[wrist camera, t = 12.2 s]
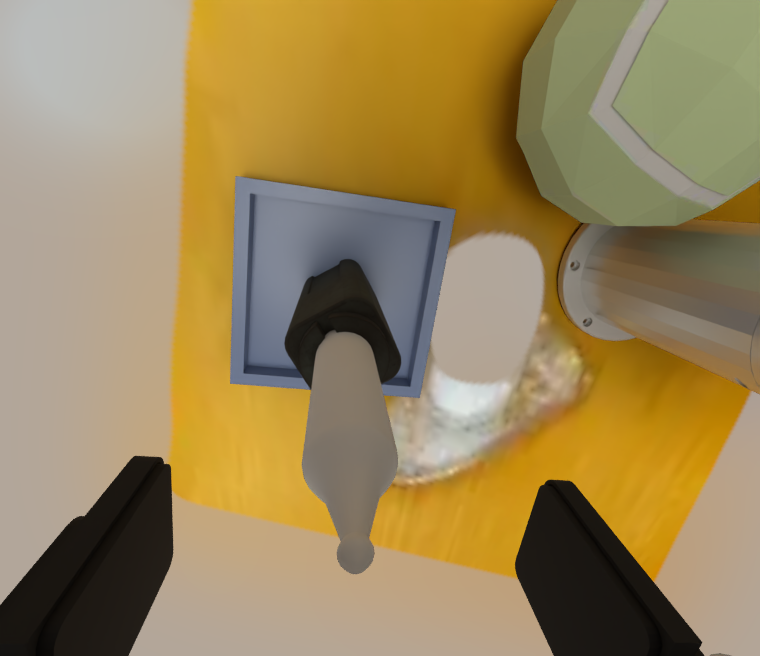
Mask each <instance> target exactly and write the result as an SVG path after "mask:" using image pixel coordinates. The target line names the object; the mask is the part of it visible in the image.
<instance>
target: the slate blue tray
mask: <svg viewBox="0 0 760 656" xmlns="http://www.w3.org/2000/svg"><path fill="white" fill-rule="evenodd" d="M455 212H456V209H450V208H443V207H436V206H430V205H423V204H417V203H410V202H403V201H397V200H390V199H384V198H377V197H370V196H364V195H357V194H351V193H344V192H337V191H331V190H324V189H317V188H311V187H304V186H298V185H291V184H284V183H278V182H271V181H265V180H258V179H251V178H245V177H238V176H236V183H235V221H234V259H233V297H232V335H231V373H230V384H243V385H256V386H269V387H283V388H296V389H309V390H310V388H309V387H308V385H307V383H306V382H305V380H304V379H303V377H302V376H301V374H300V373H299V371H298V370H297V368H296V367H295V365H294V364H293V362H292V360H291V359H290V357H289V356H288V354H287V352H286V350H285V345H284V342H285V336H286V334H287V331H288V328H289V325H290V323H291V320H292V317H293V314H294V312H295V309H296V306H297V303H298V300H299V298H300V295H301V292H302V289H303V287H304V284H305V282H306V280H307V279H308V278H309V277H311V276H314V277H316V276H318V275H320V274H321V273H323V272H325V271H327V270H329V269H331V268H333V267H335V266H337V265H338V264H339V263H340V261H341V260H344V259H352V260H354V261H356V262H357V263H358V264H359V265H360V266H361V268H362V270H363V272H364V274H365V276H366V278H367V279H368V281H369V283H370V285H371V287H372V289H373V291H374V293H375V295H376V297H377V299H378V302H379V304H380V307H381V309H382V311H383V314H384V316H385V319H386V321H387V323H388V326H389V328H390V331H391V333H392V336H393V338H394V340H395V343H396V345H397V348H398V350H399V353H400V355H401V367H400V370H399V372H398V373H397V375H396V376H395V377H394V378H392V379H391V380H389V381H387V382H385V383H383V384H381V387H382V391H383V395H388V396H402V397H415V398H420V393H421V388H422V383H423V378H424V372H425V367H426V362H427V357H428V352H429V346H430V341H431V336H432V331H433V326H434V320H435V315H436V310H437V305H438V300H439V295H440V289H441V284H442V279H443V274H444V269H445V263H446V258H447V253H448V248H449V243H450V238H451V232H452V227H453V222H454V217H455Z"/></svg>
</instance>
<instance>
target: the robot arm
mask: <svg viewBox="0 0 760 656" xmlns="http://www.w3.org/2000/svg"><path fill="white" fill-rule="evenodd" d="M570 265H571V266H570ZM558 293H559V298H560V302H561V305H562V307H563V309H564V312H565V314H566V315H567V317H568V318H569V319H570V320H571V322H572V323H573V324H574V325H575V326H577V327H578V328H579V329H580V330H582V331H583V332H585V333H587V334H589V335H591V336H593V337H596V338H599V339H602V340H609V341H622V340H629V339H633V338H636V337H637V338H639V339H641V340H644V341H646V342H648V343H650V344H652V345H654V346H657V347H659V348H661V349H663V350H665V351H667V352H669V353H672V354H674V355H676V356H678V357H680V358H682V359H685V360H687V361H689V362H691V363H693V364H695V365H698V366H700V367H702V368H704V369H706V370H708V371H710V372H713V373H715V374H717V375H719V376H721V377H723V378H726V379H728V380H730V381H732V382H734V383H736V384H739V385H741V386H743V387H745V388H747V389H749V390H751V391H754V392H756V393H758V394H760V223H745V222H728V221H712V220H695V219H691V220H688V221H686V222H684V223H681V224H679V225H677V226H611V225H601V224H591V223H584V224H583V225H582V226H581V227H580V228H579V229H578V231H577V232H576V233H575V235H574V236H573V237H572V239H571V241H570V243H569V244H568V246H567V248H566V250H565V252H564V255H563V258H562V261H561V264H560V269H559V275H558ZM172 525H173V523H172V488H171V466H170V465H169V464H164V461H163V459H162V458H161V457H145V456H134V457H133V458H132V459H131V460H130V461H129V462H128V463H127V465H126V466H125V467H124V468H123V470H122V471H121V472H120V473H119V475H118V476H117V477H116V478H115V479H114V481H113V482H112V483H111V484H110V486H109V487H108V488H107V489H106V491H105V492H104V493H103V494H102V496H101V497H100V498H99V499H98V501H97V502H96V503H95V504H94V505H93V507H92V508H91V509H90V510H89V512H88V513H87V514H86V515H85V516H79V517H77V518H75V519H73V520H72V521H71V522H70V524H68V525H67V526H66V527H65V529H64V530H63V531H62V532H61V533H60V535H59V536H58V537H57V538H56V539H55V540H54V542H53V543H52V544H51V545H50V546H49V548H48V549H47V550H46V551H45V552H44V554H43V555H42V556H41V557H40V558H39V560H38V561H37V562H36V563H35V564H34V565H33V567H32V568H31V569H30V570H29V571H28V573H27V574H26V575H25V576H24V577H23V579H22V580H21V581H20V582H19V583H18V585H17V586H16V587H15V588H14V589H13V591H12V592H11V593H10V594H9V595H8V596H7V598H6V599H5V600H4V601H3V602H2V604H1V605H0V656H128V655H129V653H130V651H131V649H132V647H133V644H134V642H135V640H136V638H137V636H138V634H139V632H140V630H141V627H142V626H143V623H144V621H145V619H146V617H147V615H148V612H149V610H150V608H151V606H152V604H153V602H154V600H155V597H156V595H157V593H158V591H159V589H160V587H161V585H162V583H163V580H164V578H165V576H166V574H167V572H168V570H169V567H170V565H171V561H172V557H173V526H172ZM515 569H516V574H517V577H518V579H519V581H520V583H521V586H522V588H523V590H524V592H525V594H526V596H527V598H528V601H529V603H530V605H531V607H532V609H533V612H534V614H535V616H536V618H537V620H538V622H539V625H540V626H541V629H542V631H543V633H544V635H545V638H546V640H547V642H548V644H549V646H550V648H551V651H552V653H553V655H554V656H704V654H703V653H702V652H701V651H700V649H699V648H700V646H701V644H702V642H701V640H700V639H699V638H698V636H697V635H696V634H695V633H694V632H693V630H692V629H691V628H690V627H689V625H688V624H687V623H686V622H685V621H684V619H683V618H682V617H681V615H680V614H679V613H678V612H677V611H676V610H675V608H674V607H673V606H672V604H671V603H670V602H669V601H668V599H667V598H666V597H665V596H664V594H663V593H662V592H661V591H660V590H659V588H658V587H657V586H656V585H655V583H654V582H653V581H652V580H651V578H650V577H649V576H648V575H647V573H646V572H645V571H644V570H643V568H642V567H641V566H640V565H639V564H638V562H637V561H636V560H635V559H634V557H633V556H632V555H631V554H630V552H629V551H628V550H627V549H626V547H625V546H624V545H623V544H622V543H621V541H620V540H619V539H618V538H617V536H616V535H615V534H614V533H613V531H612V530H611V529H610V528H609V526H608V525H607V524H606V523H605V521H604V520H603V519H602V518H601V517H600V515H599V514H598V513H597V512H596V510H595V509H594V508H593V507H592V505H591V504H590V503H589V502H588V500H587V499H586V498H585V497H584V496H583V494H582V493H581V492H580V491H579V489H578V488H577V487H576V486H575V484H573V483H572V482H570V481H563V480H547V481H546V482H545V484H544V485H542V486H540V488H539V490H538V493H537V496H536V499H535V502H534V505H533V508H532V512H531V515H530V518H529V521H528V524H527V527H526V530H525V533H524V536H523V539H522V542H521V545H520V548H519V551H518V555H517V558H516V561H515ZM710 656H730V655H725V654H721V653H719V654H711V655H710Z"/></svg>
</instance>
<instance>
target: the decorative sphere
mask: <svg viewBox="0 0 760 656" xmlns="http://www.w3.org/2000/svg"><path fill="white" fill-rule="evenodd" d="M516 139H517V141H518V143H519V145H520V147H521V149H522V151H523V153H524V155H525V158H526V160H527V162H528V165H529V167H530V170H531V172H532V175H533V177H534V180H535V182H536V184H537V187H538V189H539V192H540V194H541V196H542V197H544V198H545V199H547V200H548V201H550V202H551V203H553V204H554V205H556V206H557V207H559V208H560V209H562V210H563V211H565V212H566V213H568V214H569V215H571V216H572V217H574V218H575V219H577V220H578V221H580V222H581V223H591V224H601V225H611V226H677V225H679V224H681V223H684V222H686V221H688V220H691V219H693V218H695V217H698V216H700V215H702V214H705V213H707V212H709V211H711V210H714V209H715V208H717V207H718V206H720V205H722V204H723V203H725V202H726V201H728V200H729V199H731V198H733V197H734V196H736V195H737V194H739V193H740V192H742V191H744V190H745V189H747V188H748V187H750V186H751V185H753V184H755V183H756V182H758V181H759V180H760V0H557V2H556V4H555V6H554V7H553V9H552V11H551V13H550V15H549V16H548V18H547V20H546V22H545V23H544V25H543V27H542V29H541V30H540V32H539V34H538V36H537V38H536V39H535V41H534V43H533V45H532V46H531V48H530V50H529V52H528V54H527V55H526V57H525V59H524V61H523V67H522V78H521V88H520V99H519V109H518V120H517V130H516Z"/></svg>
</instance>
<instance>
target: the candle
mask: <svg viewBox="0 0 760 656" xmlns="http://www.w3.org/2000/svg"><path fill="white" fill-rule="evenodd" d="M284 345H285V350H286V352H287V354H288V356H289V357H290V359H291V360H292V362H293V364H294V365H295V367H296V368H297V370H298V371H299V373H300V374H301V376H302V377H303V379H304V380H305V382H306V383H307V385H308V387H309V388H310V390H311V396H310V404H309V412H308V419H307V427H306V435H305V443H304V451H303V459H302V469H303V475H304V479H305V481H306V483H307V485H308V487H309V489H310V490H311V491H312V492H313V493H314V494H315V495H316V496H317V497H318V498H319V499H320V500H321V501H323V502H324V503H325V504H326V505H327V508H328V510H329V513H330V515H331V518H332V520H333V523H334V526H335V528H336V531H337V533H338V536H339V538H340V541H341V543H340V544H339V546H338V550H337V559H338V562H339V564H340V566H341V567H342V568H343V569H344V570H346V571H347V572H349V573H351V574H359V573H362V572H363V571H365V570H366V569H367V568H368V567H369V565H370V564H371V563H372V561H373V558H374V547H373V544H372V543H371V541H370V539H369V536H370V532H371V528H372V524H373V520H374V517H375V513H376V509H377V505H378V501H379V498H380V497H381V496H382V495H383V494H384V493H385V492H386V490H387V489H388V488H389V486H390V485H391V483H392V481H393V480H394V478H395V475H396V471H397V467H398V455H397V449H396V445H395V441H394V436H393V432H392V428H391V424H390V420H389V416H388V412H387V408H386V403H385V399H384V395H383V391H382V387H381V384H383V383H385V382H387V381H389V380H391V379H392V378H394V377H395V376H396V375H397V373H398V372H399V370H400V367H401V355H400V353H399V350H398V348H397V345H396V343H395V340H394V338H393V336H392V333H391V331H390V328H389V326H388V323H387V321H386V319H385V316H384V314H383V311H382V309H381V307H380V304H379V302H378V299H377V297H376V295H375V293H374V291H373V289H372V287H371V285H370V283H369V281H368V279H367V278H366V276H365V274H364V272H363V270H362V268H361V266H360V265H359V264H358V263H357V262H356V261H354V260H352V259H344V260H341V261H340V263H339V264H338V265H337V266H335V267H333V268H331V269H329V270H327V271H325V272H323V273H321V274H320V275H318V276H316V277H314V276H311V277H309V278H308V279H307V280H306V282H305V284H304V287H303V289H302V292H301V295H300V298H299V300H298V303H297V306H296V309H295V312H294V314H293V317H292V320H291V323H290V325H289V328H288V331H287V334H286V336H285V342H284Z"/></svg>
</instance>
